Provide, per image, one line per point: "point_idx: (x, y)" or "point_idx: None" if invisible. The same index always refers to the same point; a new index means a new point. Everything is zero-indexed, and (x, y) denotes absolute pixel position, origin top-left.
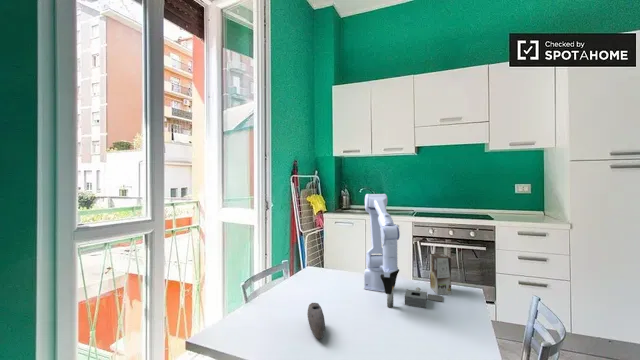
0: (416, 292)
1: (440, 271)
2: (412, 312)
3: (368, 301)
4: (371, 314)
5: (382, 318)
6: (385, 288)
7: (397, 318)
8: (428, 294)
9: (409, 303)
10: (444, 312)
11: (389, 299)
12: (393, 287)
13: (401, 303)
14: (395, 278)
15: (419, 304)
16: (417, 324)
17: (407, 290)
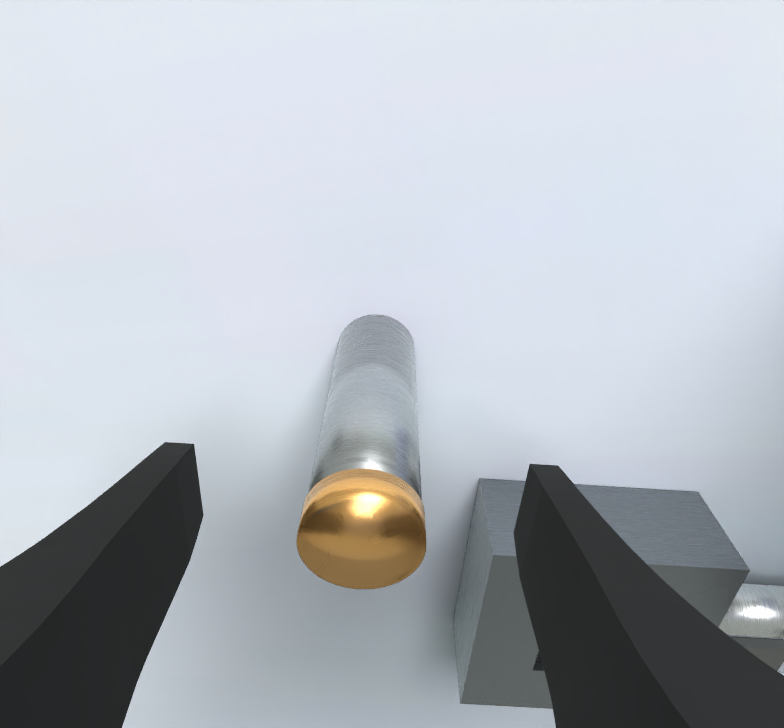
0: None
1: None
2: None
3: (461, 11)
4: (24, 151)
5: (9, 299)
6: (109, 508)
7: (110, 435)
8: (774, 654)
9: (474, 533)
10: (414, 707)
11: (327, 400)
12: (363, 576)
13: (510, 449)
14: (559, 716)
15: (462, 606)
16: None
17: (704, 576)
